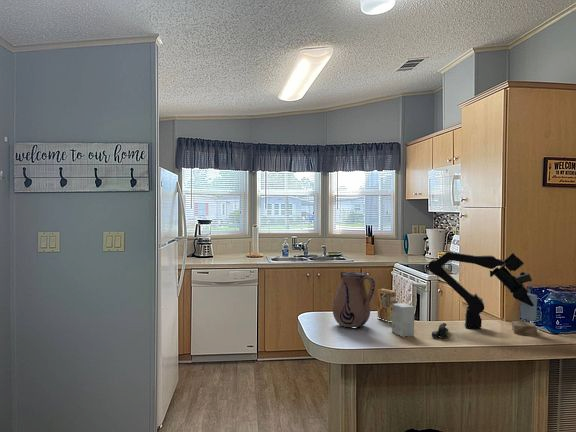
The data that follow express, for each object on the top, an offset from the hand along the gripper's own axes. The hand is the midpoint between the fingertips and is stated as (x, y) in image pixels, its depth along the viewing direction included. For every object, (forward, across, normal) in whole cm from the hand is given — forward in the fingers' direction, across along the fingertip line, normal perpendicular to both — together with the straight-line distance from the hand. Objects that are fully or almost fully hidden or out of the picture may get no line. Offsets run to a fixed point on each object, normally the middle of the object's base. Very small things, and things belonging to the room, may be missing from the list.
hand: (532, 304), depth 203 cm
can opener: (-16, -20, +36) cm, 44 cm away
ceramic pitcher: (-43, -24, +64) cm, 81 cm away
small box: (-27, -27, +48) cm, 61 cm away
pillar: (+4, 0, +6) cm, 7 cm away
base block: (+8, +2, +12) cm, 14 cm away
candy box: (-35, -6, +56) cm, 66 cm away
